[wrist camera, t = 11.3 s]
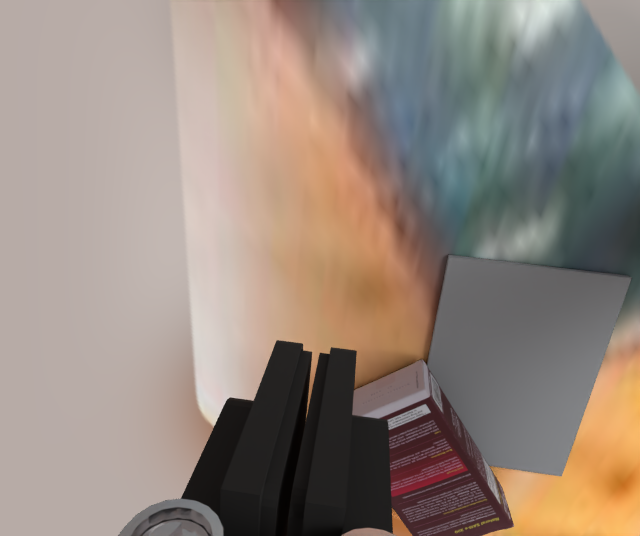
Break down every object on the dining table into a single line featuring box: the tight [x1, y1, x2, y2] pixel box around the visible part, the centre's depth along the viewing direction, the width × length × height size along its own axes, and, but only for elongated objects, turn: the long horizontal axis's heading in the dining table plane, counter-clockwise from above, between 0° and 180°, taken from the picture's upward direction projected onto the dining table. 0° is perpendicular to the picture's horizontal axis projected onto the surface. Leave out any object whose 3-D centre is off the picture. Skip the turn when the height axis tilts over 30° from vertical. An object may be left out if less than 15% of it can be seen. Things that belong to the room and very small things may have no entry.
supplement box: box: [352, 359, 514, 536], centre depth 43 cm, size 9×5×16 cm
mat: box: [427, 255, 632, 476], centre depth 42 cm, size 14×20×1 cm
